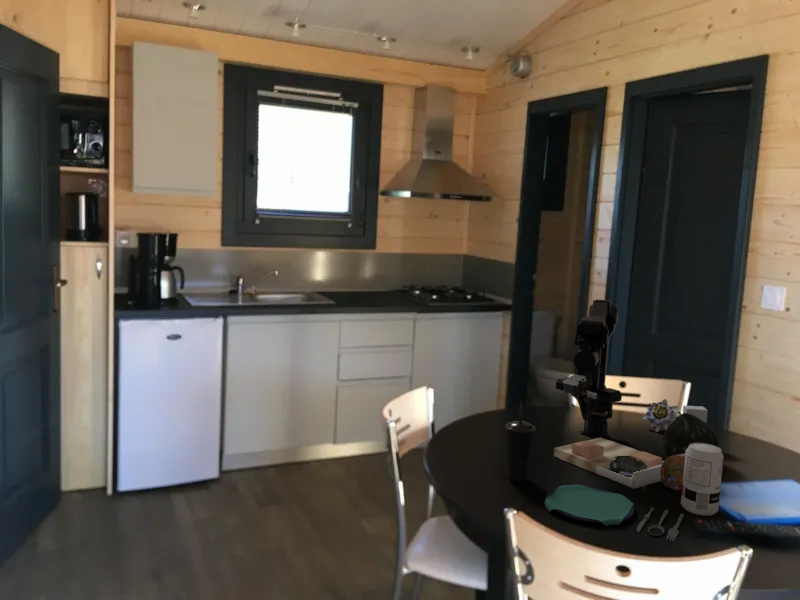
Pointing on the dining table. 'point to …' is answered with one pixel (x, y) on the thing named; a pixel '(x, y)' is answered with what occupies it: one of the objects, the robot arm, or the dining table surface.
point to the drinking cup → (518, 447)
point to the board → (590, 464)
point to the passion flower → (661, 415)
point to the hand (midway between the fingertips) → (585, 419)
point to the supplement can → (702, 479)
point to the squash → (687, 434)
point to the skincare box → (696, 412)
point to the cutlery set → (599, 507)
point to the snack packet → (673, 471)
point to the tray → (633, 476)
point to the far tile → (648, 458)
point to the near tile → (587, 449)
